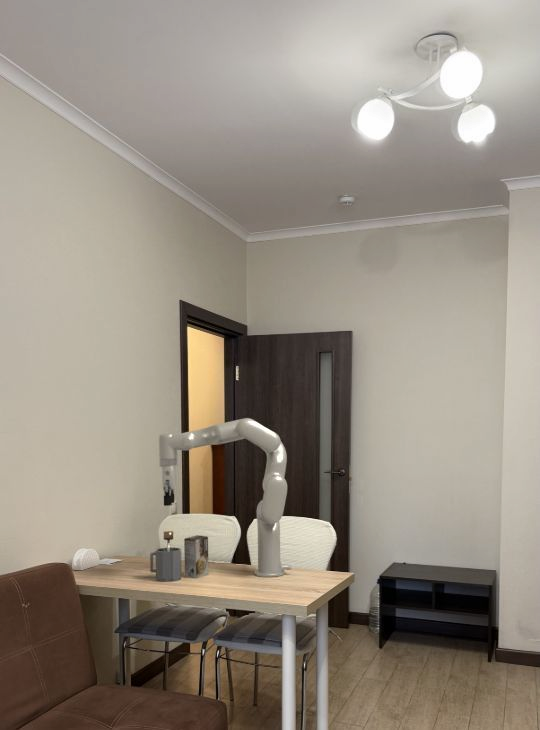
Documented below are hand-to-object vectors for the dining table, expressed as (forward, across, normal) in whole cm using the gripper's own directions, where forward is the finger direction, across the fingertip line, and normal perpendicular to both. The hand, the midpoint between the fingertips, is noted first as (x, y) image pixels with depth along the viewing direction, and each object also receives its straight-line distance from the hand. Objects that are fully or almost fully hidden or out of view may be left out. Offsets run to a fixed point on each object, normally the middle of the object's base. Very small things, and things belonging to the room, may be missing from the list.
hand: (169, 504), depth 291 cm
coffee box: (+31, +5, -10) cm, 33 cm away
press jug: (+31, 0, +2) cm, 31 cm away
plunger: (+28, 0, +1) cm, 28 cm away
